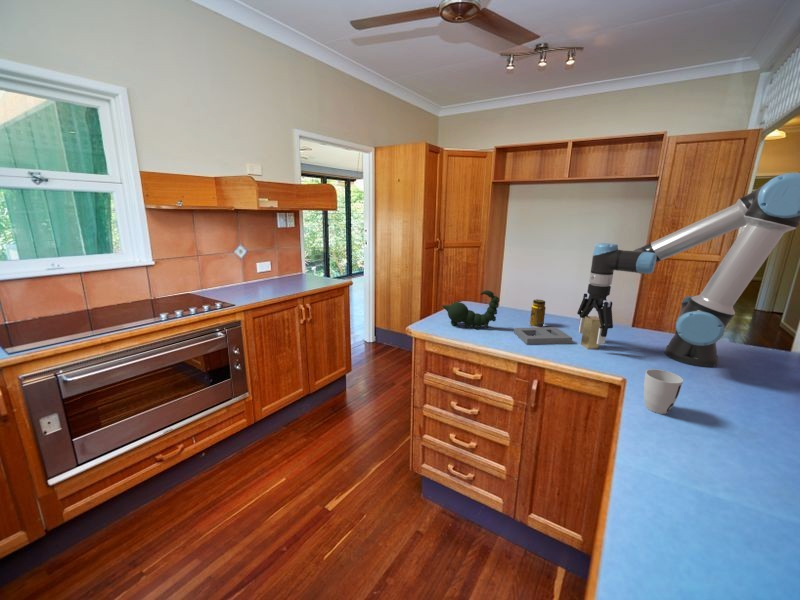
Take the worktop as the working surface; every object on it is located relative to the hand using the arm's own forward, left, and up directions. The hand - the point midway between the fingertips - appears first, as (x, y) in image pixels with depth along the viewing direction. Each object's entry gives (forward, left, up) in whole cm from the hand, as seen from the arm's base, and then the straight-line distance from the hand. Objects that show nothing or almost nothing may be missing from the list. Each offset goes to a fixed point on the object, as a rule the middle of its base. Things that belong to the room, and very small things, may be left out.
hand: (590, 338), depth 138 cm
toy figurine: (+27, +42, -4) cm, 50 cm away
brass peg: (0, 0, -4) cm, 4 cm away
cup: (-44, +9, -4) cm, 45 cm away
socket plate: (+10, +15, -4) cm, 18 cm away
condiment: (+27, +8, -4) cm, 28 cm away
